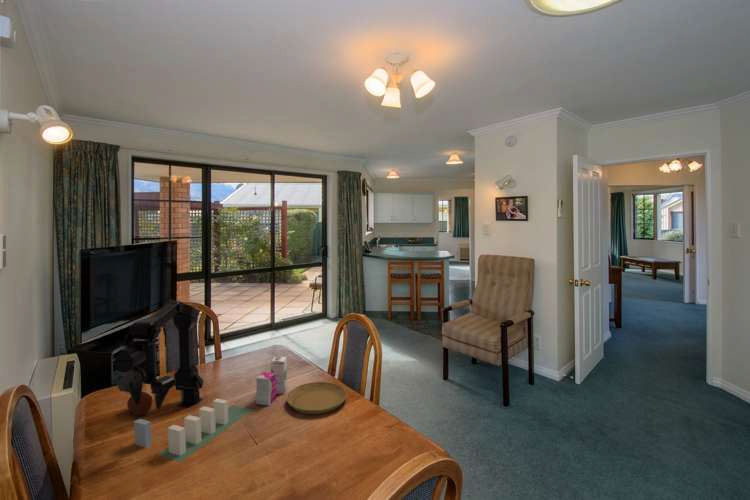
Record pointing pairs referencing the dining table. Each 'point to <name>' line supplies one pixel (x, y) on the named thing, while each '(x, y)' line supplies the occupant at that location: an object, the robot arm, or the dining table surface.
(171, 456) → the strip
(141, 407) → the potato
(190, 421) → the domino
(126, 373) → the robot arm
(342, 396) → the plant saucer
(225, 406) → the domino
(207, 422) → the domino
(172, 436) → the domino
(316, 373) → the dining table surface
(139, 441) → the slate domino
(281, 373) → the syrup box
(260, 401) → the supplement box
